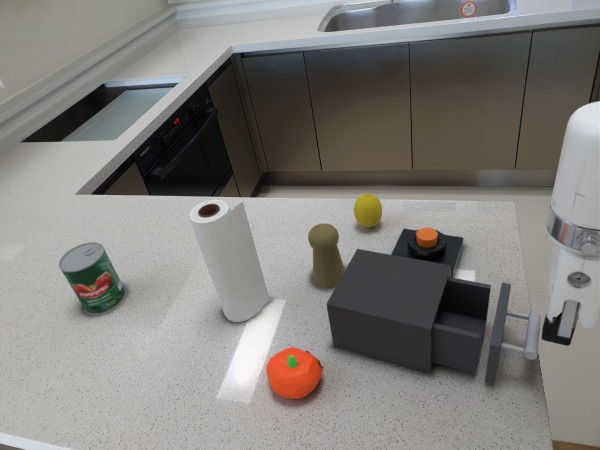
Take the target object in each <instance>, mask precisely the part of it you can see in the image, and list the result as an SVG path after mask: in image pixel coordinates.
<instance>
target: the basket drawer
mask: <svg viewBox="0 0 600 450" xmlns="http://www.w3.org/2000/svg"><path fill="white" fill-rule="evenodd" d="M511 287H512V284H511V283H508V282H501V285H500V289H499V290H500V291H499V296H498V300H497V304H496V311H495V316H494V321H493V326H492V332H491V337H490V341H489V349H488V356H487V363H486V369H485V370H486V371H485V379H484V383H486V384H489V385H493V386H495V384H496V379H497V373H498V367H499V360H500V356H501V355H500V354H501V350H503V351H508V352H512V353H517V354H519V355H523V356H524V357H525V359H527V360H531V361H535V360H537V359H538V354H539V353H538V352H539V345H540V334H541V323H542V315H541V314H540V313H539V312H537V311H530V312H529V313H527V312H525V313H524V312H520V311H514V310H511V309H508V308H509V307H508V305H509V300H510V294H511V289H512V288H511ZM491 290H492V285H491V284H488V283H483V282H477V281H473V280H467V279H461V278H456V277H453V278H452V277H448V281H447V284H446V287H445V290H444V293H443V296H442V300H441V303H440V306H439V309H438V312H437V315H436V319H435V322H434V325H433V328H432V362H434V363H433V364H437V365H442V366H445V367H449V368H453V369H456V370H461V371H464V372H467V373H471V374H477V369H478V365H479V359H480V354H481V350H482V344H483V340H484V335H485V330H486V325H487V321H488V313H489V307H490V306H489V305H490V298H491V297H490V296H491ZM507 316H508V317H513V318H517V319H522V320H525V321H526V320H527V328H526V334H525V342H524V347H522V346H517V345H513V344H510V343H505V342H503V338H504V332H505V326H506V320H507Z"/></svg>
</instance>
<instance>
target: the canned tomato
mask: <svg viewBox="0 0 600 450" xmlns="http://www.w3.org/2000/svg"><path fill="white" fill-rule="evenodd" d="M58 268H59V270H60V271H61V272H62V274H63V277H65V279H66V280H67V283H68V285H69V286H70V288H71V289H72V290H73V293H74V294H75V296H76V298H77V299H78V301H79V302H80V304H81V305H82V308H83V309H84V311H85V312H86V313H87V314H88V315H92V316H99V315H103V314H107V313H109V312H111V311H113V310H115V309H116V308H117V307H119V306H120V305H121V304H122V303H123V302H124V300H125V298H126V295H127V290H126V288H125V287H124V284H123V282H122V281H121V278H120V277H119V275H118V272H117V271H116V269H115V267H114V265H113V263H112V261H111V259H110V257H109V255H108V253H107V251H106V250H105V247H104V245H103V244H102V243H100V242H96V241H89V242H84V243H81V244H79V245H76V246H74V247H72V248H71V249H69V250H68V251H66V252H65V253H64V254H63V255H62V256H61V258H59V261H58Z"/></svg>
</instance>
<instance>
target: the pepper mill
mask: <svg viewBox="0 0 600 450" xmlns="http://www.w3.org/2000/svg"><path fill="white" fill-rule="evenodd" d="M307 240H308V244H309V245H310V247H311V248H312V279H313V282H314V284H315V285H316V286H317V287H320V288H322V289H335V288H336V286H337V284H338V282H339V280H340V279H341V277H342V275H343V273H344V271H345V270H346V268H345V267H344V263H343V259H342V256H341V254H340V250H339V247H338V244H339V240H340V235H339V231H338V228H336V226H334V225H332V224H331V223H319V224H316V225H314V226H313V227H311V229H310V230H309V231H308V236H307Z"/></svg>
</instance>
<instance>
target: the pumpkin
mask: <svg viewBox="0 0 600 450" xmlns="http://www.w3.org/2000/svg"><path fill="white" fill-rule="evenodd" d="M265 371H266V376H267V380H268V383H269V386H270V387H271V389H272V391H273V392H274V393H275V394H276V395H278V396H280V397H282V398H285V399H292V400H298V399H303V398H305V397H306V396H308V395H309V394H310V393H312V392H313V391H314V390H315V389H316V387H317V385H318V384H319V381H320V379H321V378H322V375H323V372H324V366H323V365H322V363H321V361H320V360H319V359H318V358H317V357H316V356H314V355H313V354H312V353H310V351H309V350H302V349H300V348H296V347H293V346H291V347H287V348H284V349H282V350H280V351H279V352H277V353H275V354H274V355H272V356H271V357H270V358H269V360H268V362H267V363H266V368H265Z"/></svg>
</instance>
